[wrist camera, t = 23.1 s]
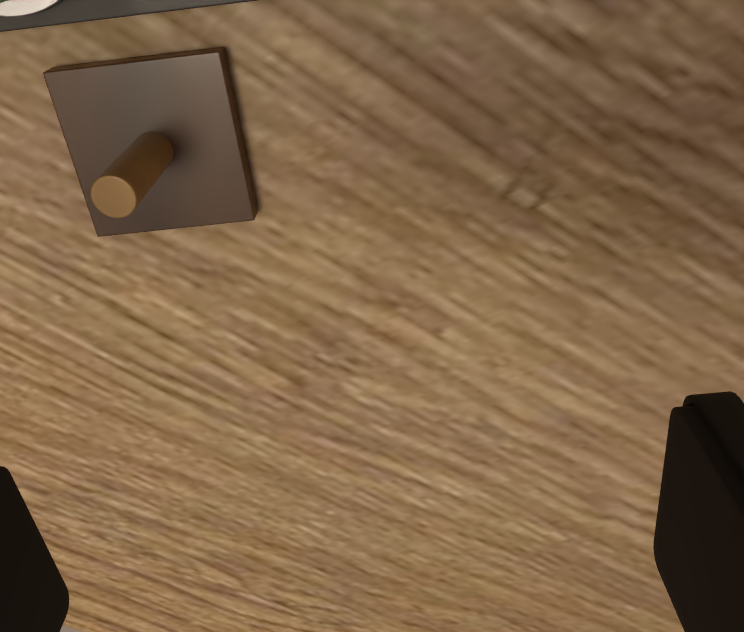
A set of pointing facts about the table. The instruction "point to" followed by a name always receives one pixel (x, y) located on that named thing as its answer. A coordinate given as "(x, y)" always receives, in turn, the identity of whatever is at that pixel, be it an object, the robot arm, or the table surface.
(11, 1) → the burner
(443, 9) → the table surface
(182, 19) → the table surface
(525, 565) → the table surface
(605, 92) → the table surface
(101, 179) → the peg stand
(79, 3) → the hob
